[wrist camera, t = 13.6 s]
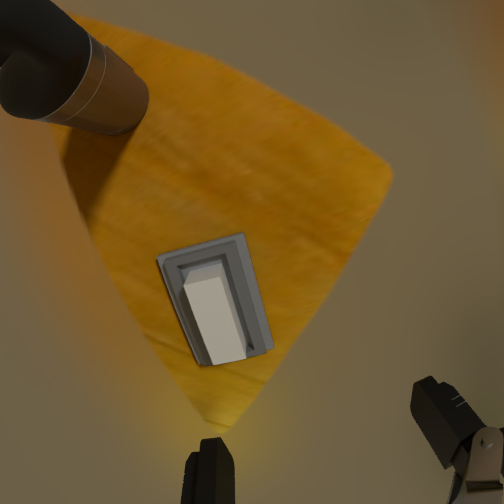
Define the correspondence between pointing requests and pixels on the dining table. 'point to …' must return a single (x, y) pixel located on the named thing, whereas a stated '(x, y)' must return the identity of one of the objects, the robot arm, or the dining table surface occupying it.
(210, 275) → the off-white tapered block
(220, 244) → the cradle
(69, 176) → the dining table surface
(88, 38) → the robot arm
